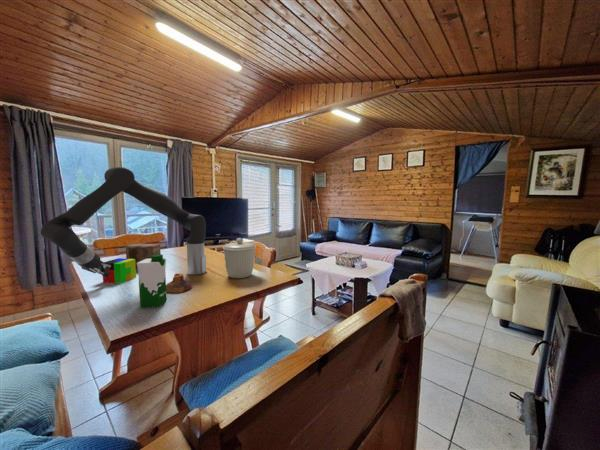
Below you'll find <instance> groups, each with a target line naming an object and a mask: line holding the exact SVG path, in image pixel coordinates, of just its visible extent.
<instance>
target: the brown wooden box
mask: <svg viewBox="0 0 600 450" xmlns="http://www.w3.org/2000/svg"><path fill="white" fill-rule="evenodd" d="M157 254H161V244H160V243H131V244H128V245H126V246H125V259H135V263H136V268H137V263H138V262H140V261H142V260H145V259H151V256H152V255H157Z"/></svg>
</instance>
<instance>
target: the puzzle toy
mask: <svg viewBox="0 0 600 450" xmlns="http://www.w3.org/2000/svg"><path fill="white" fill-rule="evenodd" d="M103 262H104V264H111V267H110V269H109V271H108V272H109V273H110V275H109V276H108V277H104V276H102V282H103V283H110V284H111V283H113V284H124V283H126V282H128V281H130V280H133V279H135V278H137V269H136V268H137V267H136V263H135V259H126V258H124V257H123V258H119V257H118V258H115V259H112V260H107V261H103Z"/></svg>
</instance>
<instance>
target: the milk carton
mask: <svg viewBox="0 0 600 450" xmlns="http://www.w3.org/2000/svg"><path fill="white" fill-rule="evenodd" d="M166 261H167V258H164V255H163V254H157V255H152V256H151V259H145V260H142V261H140V262H138V263H137V267H136V268H137V272H138V273H137V274H138V287H139V288H138V290H139V291H138V292H139V307H140V308H141V309H143V308H144V309H145V308H146V309H147V308H160V307H161V306H162V305H163V304H164V303H166V302H167V300H168V299H167V292H166V285H167V282H166V281H167V279H166V265H167V262H166Z"/></svg>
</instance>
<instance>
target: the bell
mask: <svg viewBox="0 0 600 450" xmlns="http://www.w3.org/2000/svg"><path fill="white" fill-rule="evenodd" d="M192 287H193V285H192V283H191V282H190V281H188V280H186V279H185V278H184V274H183V273H175V274H174V277H172V280H171V281H169V282H168V283H166V294H181V293H185V292H188V291H190V290H191V289H192Z"/></svg>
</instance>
